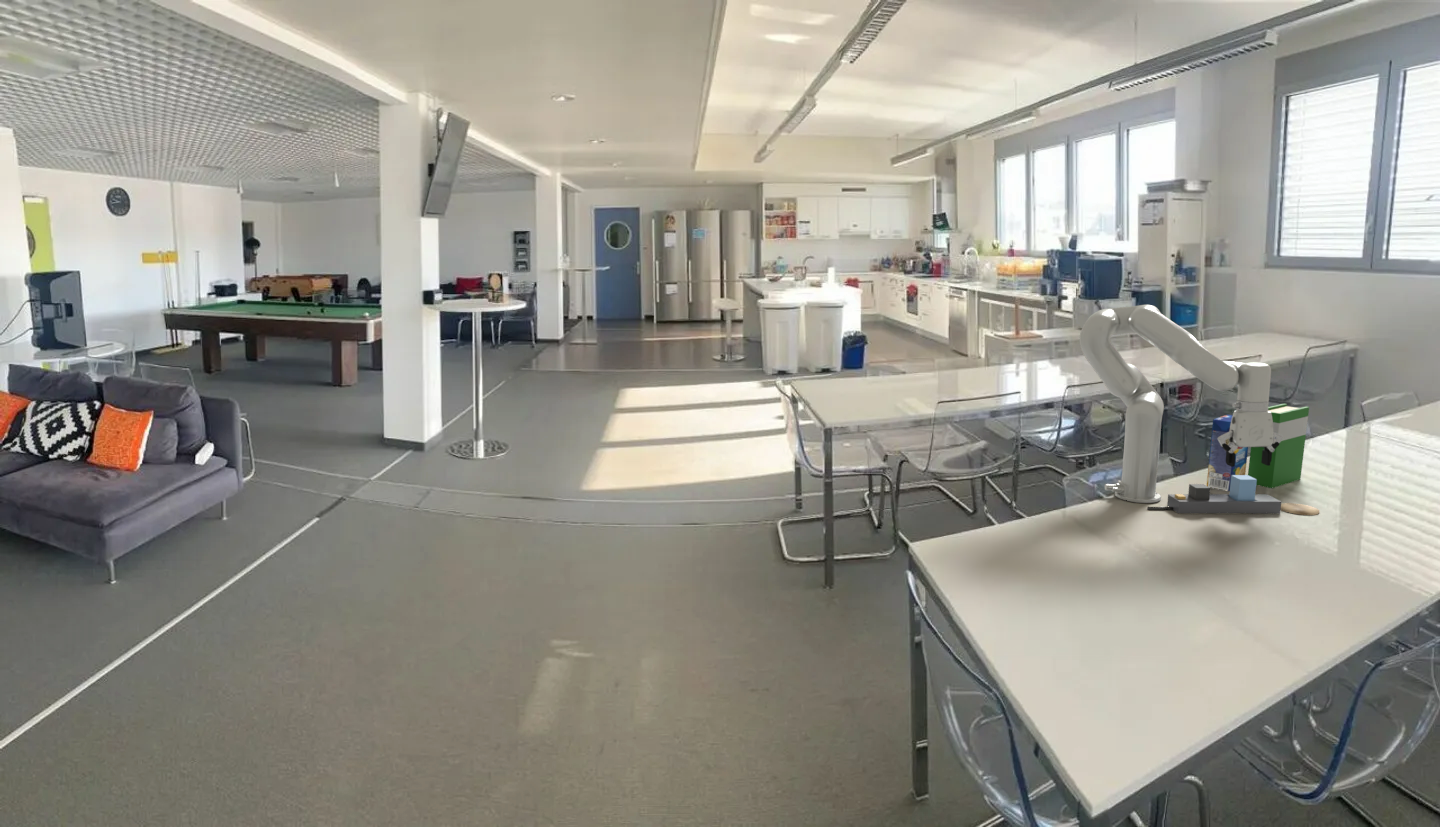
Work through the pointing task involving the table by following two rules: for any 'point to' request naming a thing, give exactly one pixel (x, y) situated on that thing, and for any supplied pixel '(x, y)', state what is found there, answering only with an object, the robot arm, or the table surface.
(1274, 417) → the hardback book
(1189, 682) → the table surface
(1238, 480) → the block
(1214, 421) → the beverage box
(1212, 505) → the power strip
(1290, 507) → the coaster
